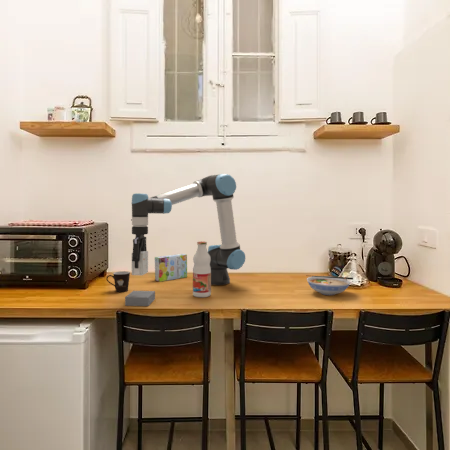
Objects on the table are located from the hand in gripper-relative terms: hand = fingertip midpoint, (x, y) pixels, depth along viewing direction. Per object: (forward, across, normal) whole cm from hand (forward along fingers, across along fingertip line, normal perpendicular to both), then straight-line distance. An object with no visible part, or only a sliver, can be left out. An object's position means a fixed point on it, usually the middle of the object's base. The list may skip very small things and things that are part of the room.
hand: (139, 273), depth 165 cm
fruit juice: (+14, -15, +28) cm, 35 cm away
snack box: (+14, -53, +4) cm, 55 cm away
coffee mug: (+14, -21, -18) cm, 31 cm away
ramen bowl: (+14, -23, +95) cm, 99 cm away
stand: (+14, 0, 0) cm, 14 cm away
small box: (0, 0, 0) cm, 0 cm away
